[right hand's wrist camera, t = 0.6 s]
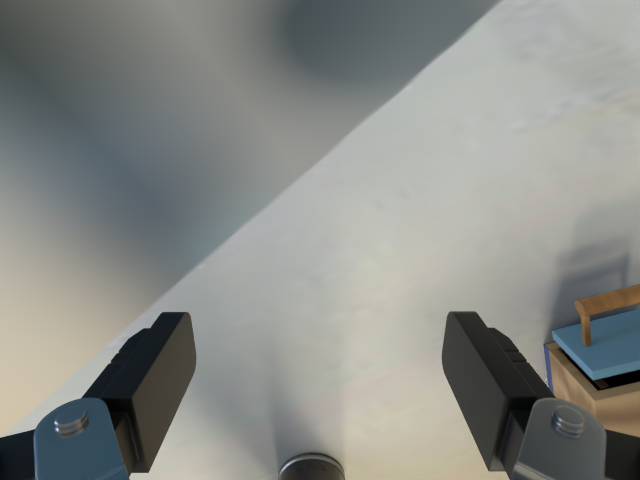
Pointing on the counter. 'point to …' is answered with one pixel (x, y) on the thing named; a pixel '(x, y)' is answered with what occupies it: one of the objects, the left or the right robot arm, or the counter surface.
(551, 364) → the cabinet
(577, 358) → the drawer
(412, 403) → the counter surface
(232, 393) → the counter surface
